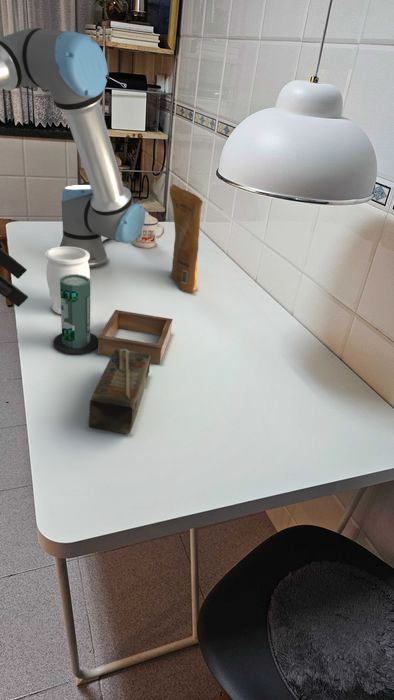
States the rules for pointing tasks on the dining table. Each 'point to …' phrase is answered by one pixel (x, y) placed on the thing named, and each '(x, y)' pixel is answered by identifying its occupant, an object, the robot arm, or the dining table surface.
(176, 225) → the pancake mix bag
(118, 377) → the beverage carton
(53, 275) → the jar
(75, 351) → the coaster
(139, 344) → the wooden square frame
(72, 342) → the can
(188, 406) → the dining table surface
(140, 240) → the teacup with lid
